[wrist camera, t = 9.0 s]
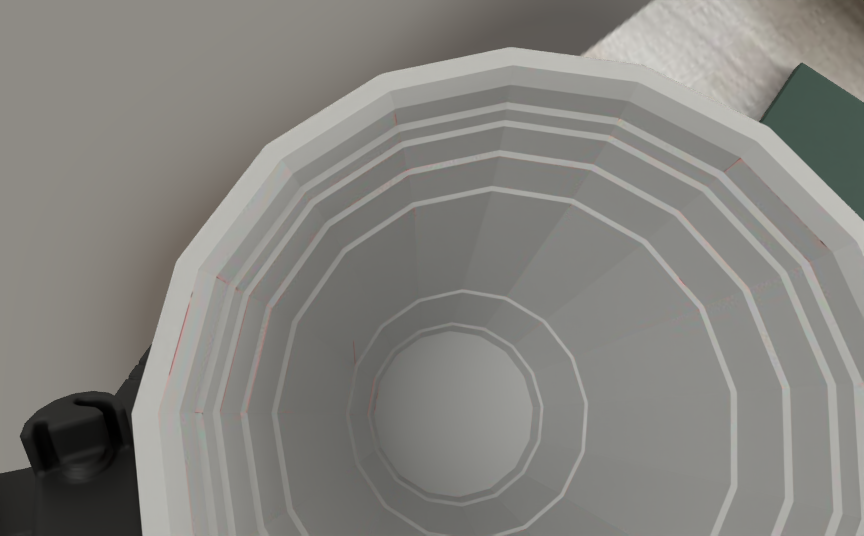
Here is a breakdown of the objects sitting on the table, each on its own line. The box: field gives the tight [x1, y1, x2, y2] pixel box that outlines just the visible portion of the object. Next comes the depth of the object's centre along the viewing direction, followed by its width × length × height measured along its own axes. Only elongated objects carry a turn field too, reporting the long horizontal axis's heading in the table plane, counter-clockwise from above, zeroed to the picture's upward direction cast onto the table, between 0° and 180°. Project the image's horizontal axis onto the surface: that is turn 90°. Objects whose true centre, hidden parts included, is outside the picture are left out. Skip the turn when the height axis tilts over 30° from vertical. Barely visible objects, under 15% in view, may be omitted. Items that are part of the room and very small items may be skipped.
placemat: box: [759, 63, 864, 221], centre depth 30 cm, size 16×20×1 cm
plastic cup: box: [131, 47, 864, 536], centre depth 12 cm, size 11×11×12 cm
